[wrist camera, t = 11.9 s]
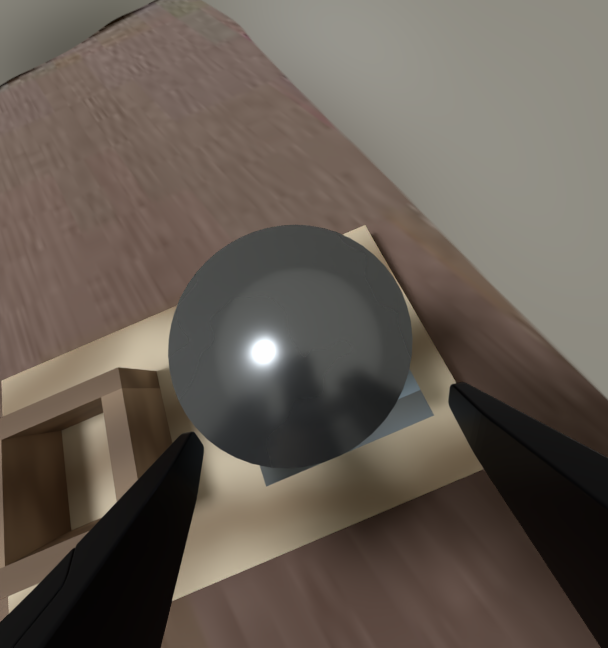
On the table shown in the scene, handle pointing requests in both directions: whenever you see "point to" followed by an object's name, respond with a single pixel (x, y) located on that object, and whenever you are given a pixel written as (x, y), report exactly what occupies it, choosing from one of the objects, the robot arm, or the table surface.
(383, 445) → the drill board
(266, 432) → the grey long rounded piece
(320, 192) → the table surface
